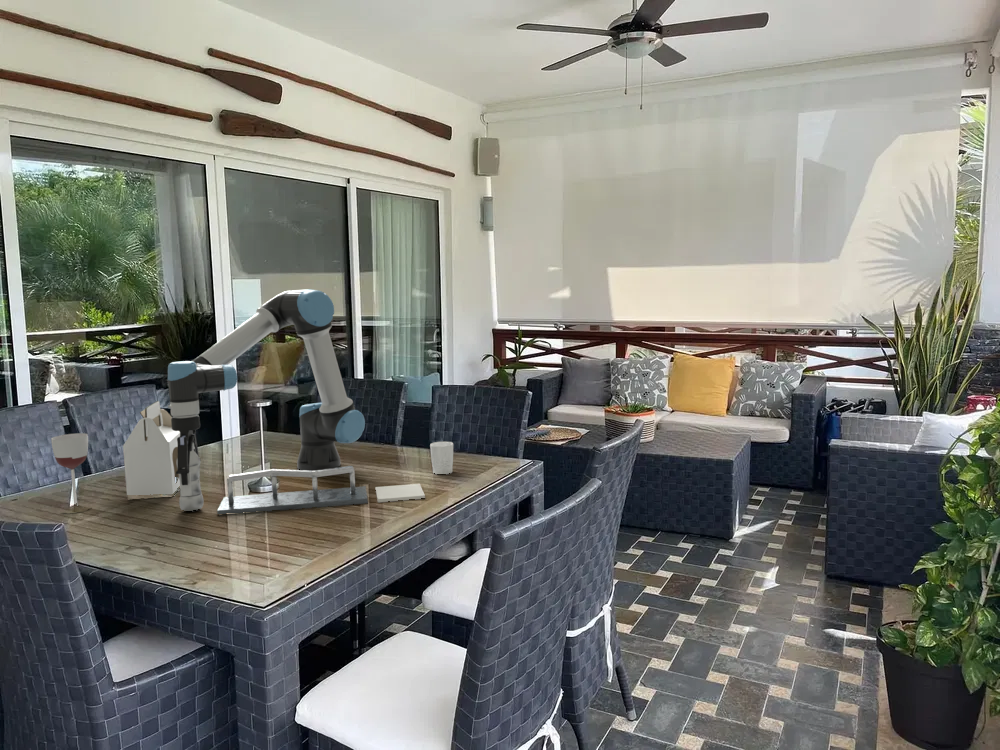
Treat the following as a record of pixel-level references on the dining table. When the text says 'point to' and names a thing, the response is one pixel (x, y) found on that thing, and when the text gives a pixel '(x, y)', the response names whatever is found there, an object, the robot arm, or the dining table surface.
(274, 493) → the grey platform with railing
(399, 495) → the pad
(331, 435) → the robot arm
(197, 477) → the plastic bottle
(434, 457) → the white cup
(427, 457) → the dining table surface
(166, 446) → the gable box
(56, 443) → the wineglass
